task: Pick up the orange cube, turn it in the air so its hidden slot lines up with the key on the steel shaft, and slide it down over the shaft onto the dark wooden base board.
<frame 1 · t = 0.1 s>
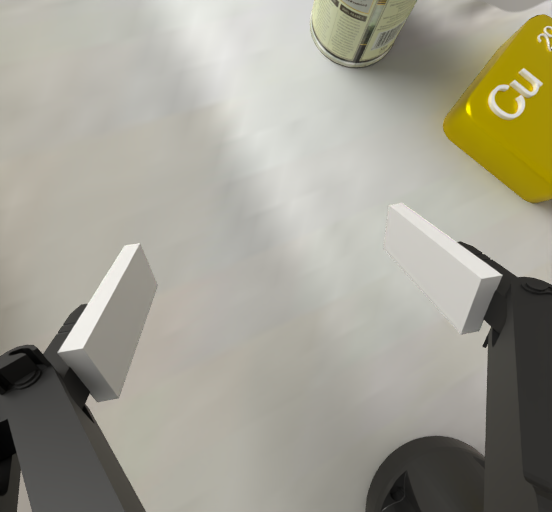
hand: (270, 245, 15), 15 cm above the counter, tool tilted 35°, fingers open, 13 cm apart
coffee can: (351, 27, 33), on the counter
element tile: (517, 124, 34), on the counter
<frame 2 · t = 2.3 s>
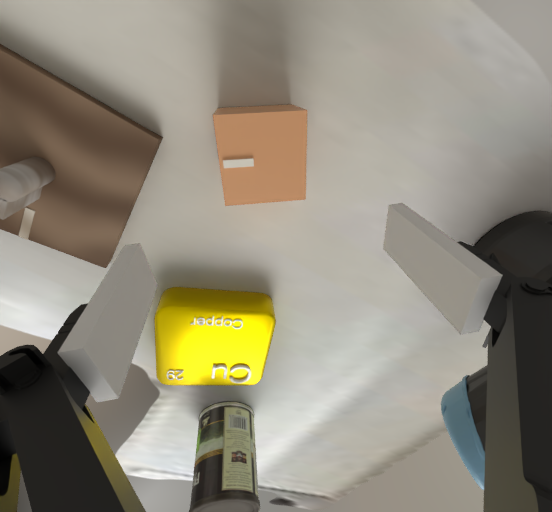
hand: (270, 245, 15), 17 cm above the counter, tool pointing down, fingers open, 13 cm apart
coffee can: (227, 416, 53), on the counter
orange cube: (257, 145, 29), on the counter
element tile: (216, 327, 42), on the counter
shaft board: (49, 166, 27), on the counter
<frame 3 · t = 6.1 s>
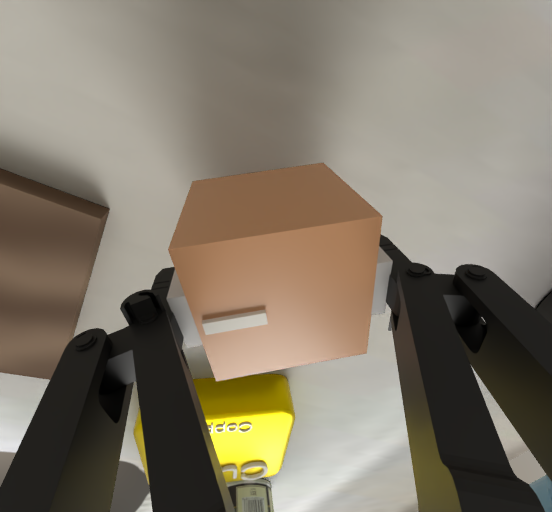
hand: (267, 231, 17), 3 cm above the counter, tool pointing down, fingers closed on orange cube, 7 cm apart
coffee can: (240, 489, 45), on the counter
orange cube: (266, 230, 17), point 3 cm above the counter, touching gripper
element tile: (218, 411, 33), on the counter
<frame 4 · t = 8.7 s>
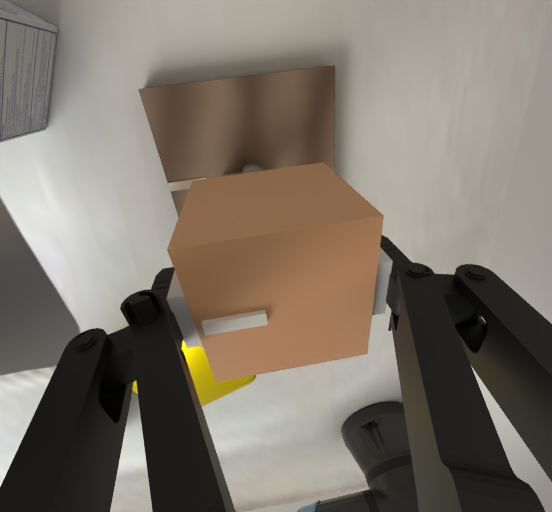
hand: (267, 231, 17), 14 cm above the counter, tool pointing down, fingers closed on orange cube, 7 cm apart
orange cube: (266, 230, 17), point 14 cm above the counter, touching gripper
element tile: (189, 348, 41), on the counter
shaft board: (252, 170, 28), on the counter
medicine box: (24, 68, 22), on the counter
when the fingers open (3 cm above the counter, at t = 11.6 s): orange cube drops 1 cm, resting on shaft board.
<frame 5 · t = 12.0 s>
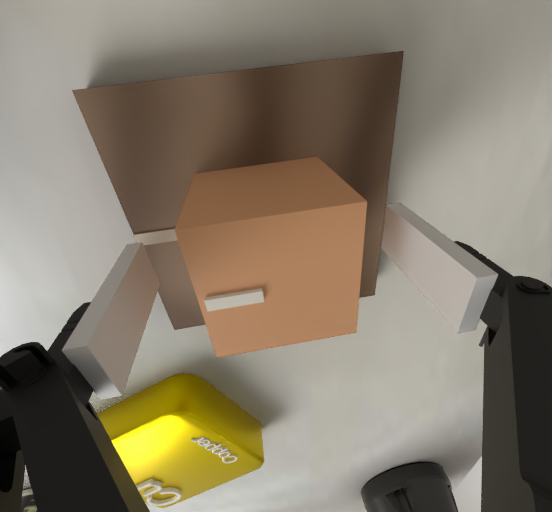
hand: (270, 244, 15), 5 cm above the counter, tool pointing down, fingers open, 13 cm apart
coffee can: (53, 500, 37), on the counter
orange cube: (264, 220, 18), point 1 cm above the counter, touching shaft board
element tile: (177, 422, 32), on the counter
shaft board: (262, 211, 19), on the counter
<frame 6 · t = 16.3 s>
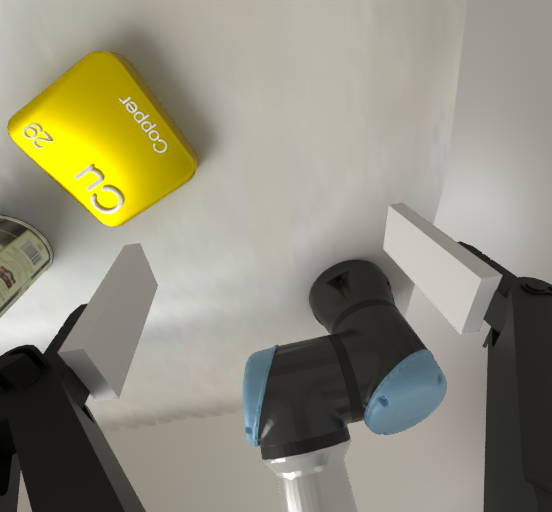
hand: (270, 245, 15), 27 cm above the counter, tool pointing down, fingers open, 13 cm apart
coffee can: (13, 247, 41), on the counter
element tile: (120, 144, 36), on the counter
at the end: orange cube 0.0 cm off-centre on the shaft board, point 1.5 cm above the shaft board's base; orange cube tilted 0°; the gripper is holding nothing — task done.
